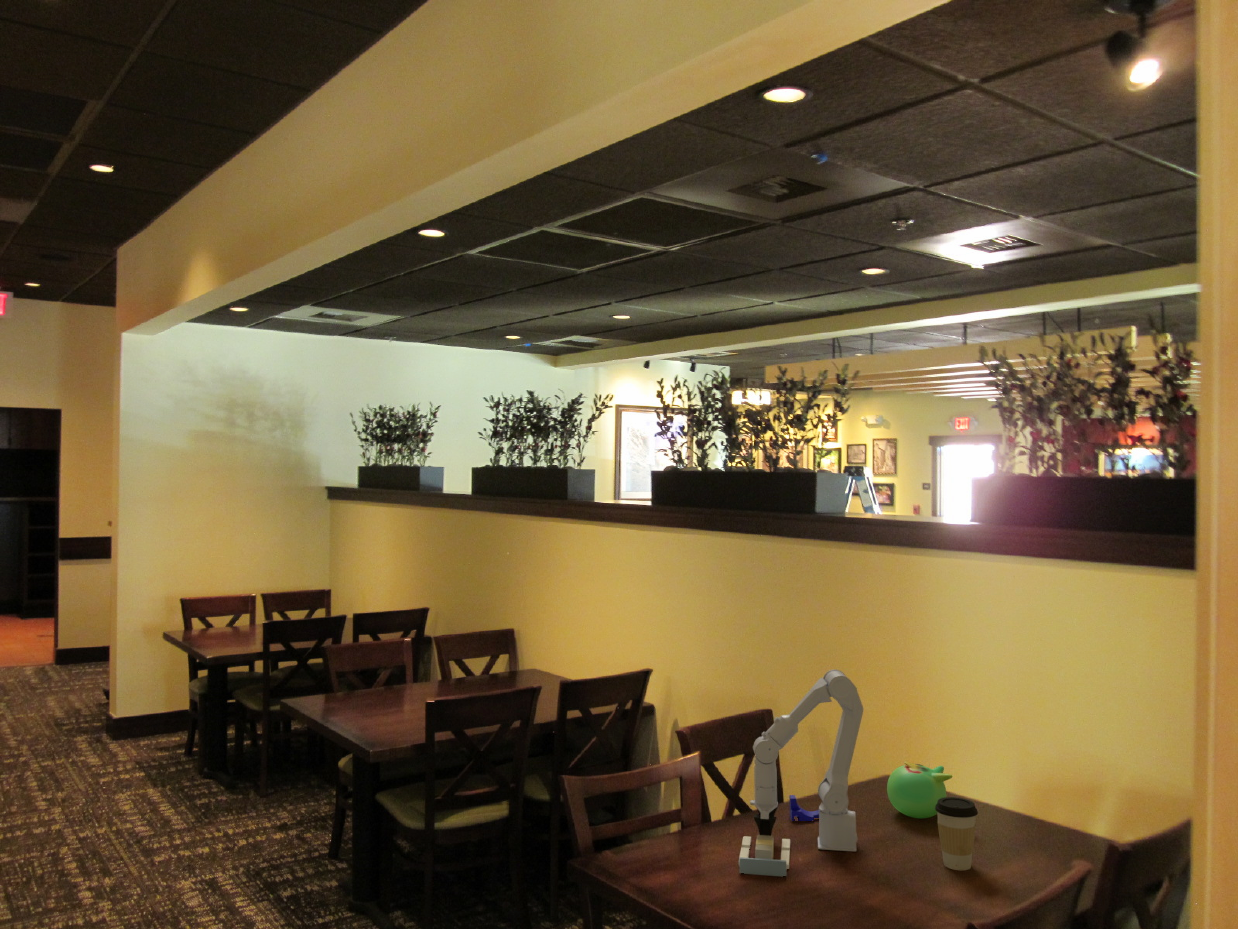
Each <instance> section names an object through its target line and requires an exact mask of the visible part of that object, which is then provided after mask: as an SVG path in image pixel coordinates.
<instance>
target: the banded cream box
mask: <svg viewBox="0 0 1238 929" xmlns="http://www.w3.org/2000/svg"><path fill="white" fill-rule="evenodd" d="M774 839H775V838H774V835H771V836H768V835H760V834H757V835H756V841H755V847H754V848H755V849H754V851H755V852H754V856H755V858H758V859H773V860H774V852H775V851H774V850H775V849H774V848H775V846H774V843H775V842H774Z"/></svg>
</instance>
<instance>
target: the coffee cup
mask: <svg viewBox="0 0 1238 929" xmlns="http://www.w3.org/2000/svg"><path fill="white" fill-rule="evenodd" d="M935 810H936V811H937V814H936V815H937V827H938V828H937V830H938V834H939V842H940V849H941V852H942V860H943V865H944V867H946V868H947V869H951V870H954V871H967V870H970V869H971V867H972V858H973V854H974V847H975V846H974V844H975V836H976V834H975V833H976V820H977V819H976V818H977V817H976V816H977V815H978V814H979V812H978V808H977V807H976V805H975V803H974V801H971V800H969V799H967V798H961V797H955V796H954V797H953V796H951V797H950V796H946V797H945V798H941V799H939V800H938V802H937V804H936V806H935Z"/></svg>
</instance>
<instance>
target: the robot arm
mask: <svg viewBox="0 0 1238 929" xmlns="http://www.w3.org/2000/svg"><path fill="white" fill-rule="evenodd" d="M831 697H832V698H833V699H834V700H835V701H836V702H837V703H838V705H839V706H840V708H841V710H842V711H841V712H842V713H841V717H840V721H839V724H838V729H837V733H836V738H835V742H834V745H833V748H832V749H833V750H832V754H831V758H830V762H829V766H828V769H827V771H826V772H825V774H824V778H823V780H822V781H821V782H820V783H819V785H818V787H817V792H818V793H817V794H818V797H819V798H820V799H821V802H820V805H818V806H819V807H818V810H819V820H818V832H819V835H818V836H817V849H818V850H825V851H840V852H841V851H843V852H857V842H858V834H857V820H856V819H857V818H856V811H854V810H849V809H848V806H849V803H850V802H849V797H848V789H849V775H850V774H849V773H850V770H851V764H852V762H853V757H854V756H853V755H854V752H855V748H856V743H857V740H858V735H859V731H860V727H861V722H862V718H863V715H864V706H863V703H862V700H861V698H860V695H859V692H858V687H856V685H855V684H854V683H853V682H852V680H851V679H850V678H848V676H846V674H845V673H844V672H843V671H841V670H839V669H830V670H828V671H826V673H825V674H824V676H823V677H820V678H819V679H818V680H817V681H816V682H815V684H814V685H813V686H811V688H810V689H809V690H808V692H807V693H805V696H803V698H801V700H800V701H799V702H798V703H797V705H795V707H794V708H793V709H792V711H791V712H790V713H788V714H781V715H780V716H779V717H778V716H776V717H775V718H774V719H773V721H774V722H773V724H772V725H771V726H770V727H769V728H768V729H767V730H766V731H763V732H761V736H759V737H757V738H756V739H755V741H754V742H753V745H752V750H753V753H754V755H755V756H754V768H753V769H754V771H753V772H754V774H753V775H754V777H753V778H754V800H753V799H751V800H750V802H749V806H754V807H755V808H756V810H757V813H758V814H755V813H754V815H753V820H754V821H755V823H756V826H757V829H758V835H768V836H772V832H773V828H774V825H775V823H776V821H777V816H776V813H777V812H776V811H777V809H778V806H779V802H778V787H777V786H778V782H777V781H778V776H777V774H778V772H777V770H778V769H777V765H776V764H777V762H776V761H777V759H778V757H779V752H780V750H782V749H784V747H785V746H786V745H787V744H788V743H789V742H790V740H791V739H793V737H795V735H796V734H797V733H798V732H799V724H800V723H801V722H802V721H803V720H804V719H806V718H807V716H808V715H809V714H810V713H812V711H813V710H814V709H815V708H816V707H817V706H818V705H819V704H823V703H832V702H833V701H832V699H831Z"/></svg>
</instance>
